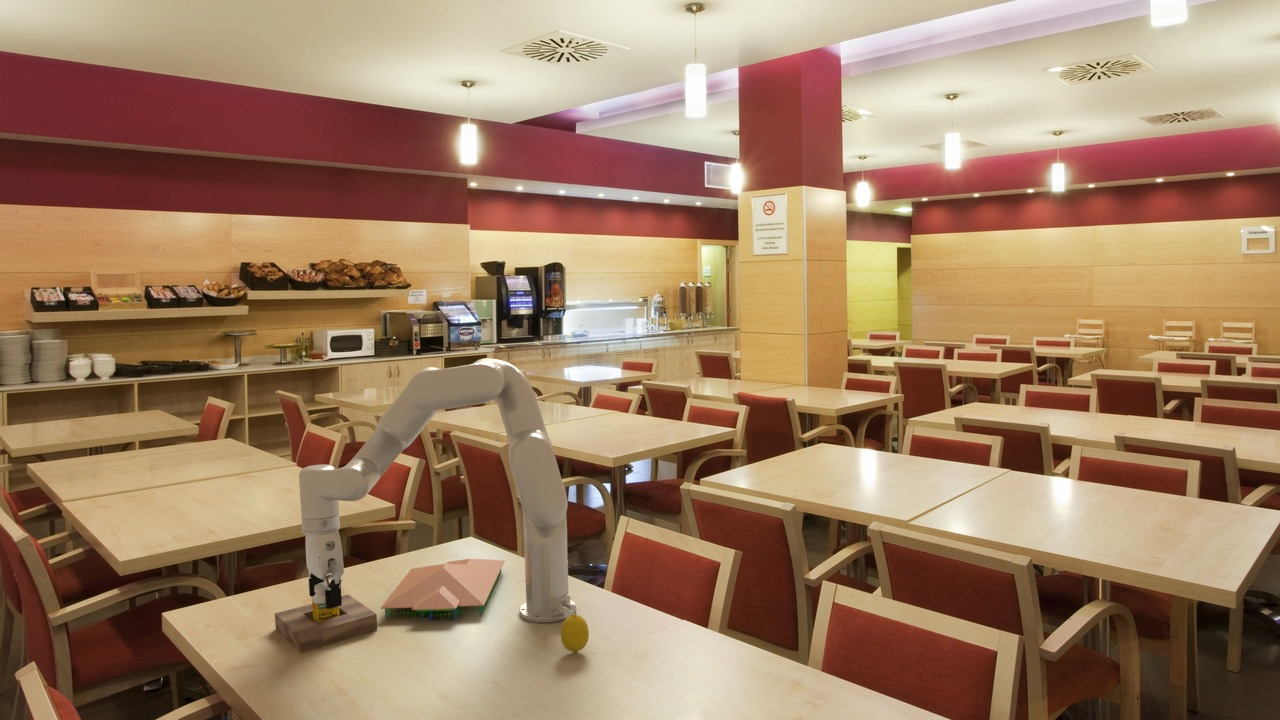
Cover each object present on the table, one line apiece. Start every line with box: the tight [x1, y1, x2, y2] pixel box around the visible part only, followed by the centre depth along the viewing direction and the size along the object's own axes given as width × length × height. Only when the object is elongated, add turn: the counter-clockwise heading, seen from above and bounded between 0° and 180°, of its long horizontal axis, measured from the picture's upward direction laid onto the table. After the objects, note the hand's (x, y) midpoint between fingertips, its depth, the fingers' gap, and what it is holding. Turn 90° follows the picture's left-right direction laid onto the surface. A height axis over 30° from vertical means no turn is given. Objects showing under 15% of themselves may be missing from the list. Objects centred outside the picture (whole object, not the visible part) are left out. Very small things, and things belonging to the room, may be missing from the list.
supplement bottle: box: [311, 581, 340, 623], centre depth 172 cm, size 5×5×10 cm
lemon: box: [560, 613, 590, 654], centre depth 158 cm, size 6×6×8 cm
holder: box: [274, 593, 378, 653], centre depth 172 cm, size 16×16×4 cm
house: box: [380, 558, 506, 622], centre depth 190 cm, size 23×33×8 cm
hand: (325, 600), depth 172 cm, fingers open, 9 cm apart
